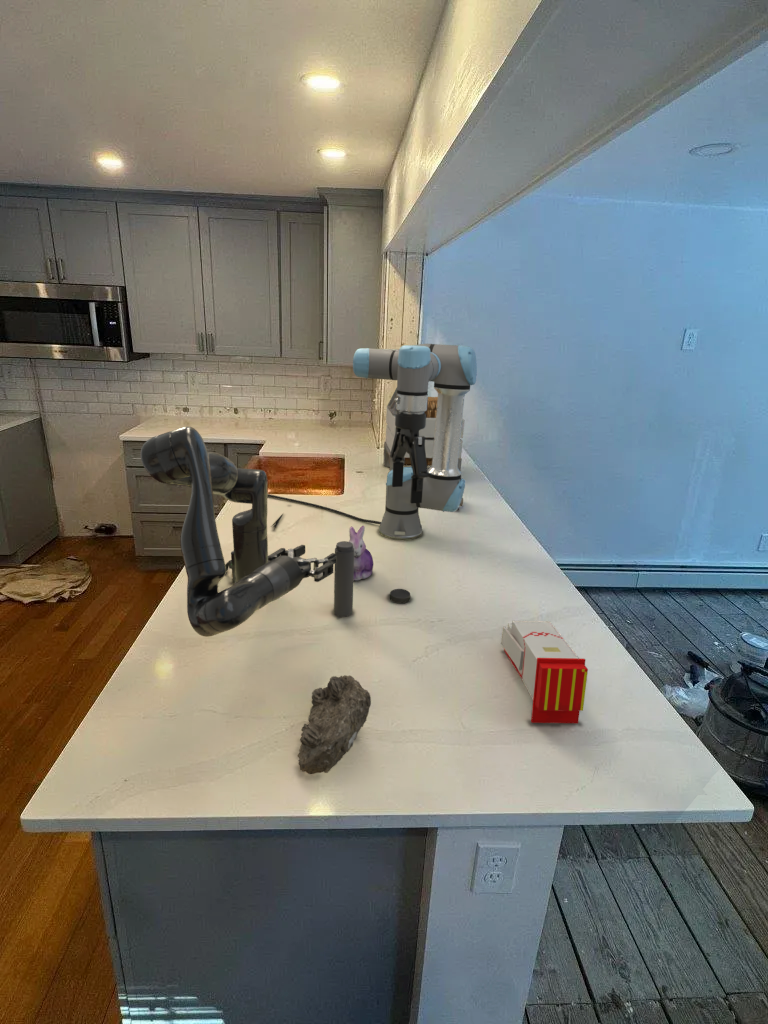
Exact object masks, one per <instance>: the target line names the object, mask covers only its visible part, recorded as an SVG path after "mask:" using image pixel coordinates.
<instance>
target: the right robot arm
mask: <svg viewBox="0 0 768 1024" xmlns="http://www.w3.org/2000/svg"><path fill="white" fill-rule="evenodd" d="M476 355H477V354H476V352H475V350H474V348H473V347H471V346H466V345H460V344H458V345H456V344H441V343H439V344H438V343H419V344H412V345H411V344H410V345H409V344H408V345H401V346H400V347H399V348H369V347H365V348H361V347H360V348H358V349H356V350H355V352H354V354H353V357H352V371H353V374H354V375H355V376H356V377H357V378H361V379H367V380H368V379H373V380H388V381H397V382H396V388H397V398H395V402H396V409H397V410H398V411H397V412H396V416H395V426H396V432H395V437H394V441H393V445H392V449H391V453H390V457H391V458H392V461H393V462H394V463H393V470H391V471H390V470H389V472H388V473H387V475H386V482H385V504H384V505H385V507H384V508H385V509H384V513H383V515H382V519H381V521H379V520H372V519H365V518H361V517H359V516H358V517H357V516H356V515H355V516H354V515H352V514H349V513H347V512H343V511H340V510H338V509H334V508H330V507H327V506H324V505H320V504H316V503H311V502H307V501H302V500H298V499H294V498H289V497H284V496H279V495H274V494H269V493H268V496H267V498H273V499H278V500H282V501H287V502H292V503H296V504H301V505H306V506H310V507H314V508H317V509H322V510H326V511H328V512H332V513H336V514H338V515H341V516H345V517H348V518H351V519H353V520H356V521H359V522H364V523H367V524H369V523H370V524H376V525H379V526H378V533H379V534H380V535H381V536H382V537H385V538H387V539H389V540H395V541H410V540H415V539H418V538H420V537H421V536H422V535H423V525H422V524H421V518H420V515H419V509H425V510H433V511H439V512H440V511H441V512H442V513H444V512H447V513H455V512H456V511H458V510H457V509H458V508H460V506H459V505H460V503H461V500H462V498H463V497H462V496H464V493H465V492H464V491H465V489H466V479H464V478H462V471H461V472H460V470H459V469H458V467H457V466H458V456H459V446H460V439H461V438H460V436H461V426H462V419H463V414H464V404H465V396H466V395H467V394H468V393H469V392H470V391H471V386H474V385H476V382H477V375H478V374H477V373H478V367H477V366H478V365H477V364H478V363H477V356H476ZM429 382H432V383H433V389H434V390H435V391H436V393H437V397H438V399H437V411H436V423H435V434H434V446H433V457H432V465H430V466H429V468H428V466H427V461H426V452H425V437H424V436H419V430H421V429H424V428H425V426H426V414H425V413H424V412H425V411H426V410H427V400H428V397H429V392H428V391H429ZM394 452H395V453H394ZM406 452H407V453H408V454H409V456H410V461H411V466H405V465H404V463H403V462H402V461H404V456H405V454H406Z"/></svg>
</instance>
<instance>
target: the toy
mask: <svg viewBox="0 0 768 1024" xmlns="http://www.w3.org/2000/svg"><path fill="white" fill-rule="evenodd" d="M500 645H501V646H502V648H503V652H504V654H505V655H506V657H507V658H508V660H509V661H510V663H511V664H512V666H513V668H514V669H515V671H516V672H517V674H518V676H519V677H520V679H521V680H522V683H523V685H524V686H525V688H526V690H527V692H528V694H529V696H530V697H531V699H532V708H531V719H530V722H531V723H532V724H579V719H580V712H583V711H584V706H585V697H586V689H587V680H588V671H589V669H588V667H587V666H586V659H585V658H580V657H579V656H578V655H577V654H576V652H575V651H574V650H573V648H572V647H571V646H570V645H569V644H568V642H567V641H566V640H565V638H564V637H563V636H562V634H561V633H560V632H559V631H558V630H557V628H556V627H555V626H554V624H553V623H552V622H551V621H549V620H548V621H545V620H540V621H539V620H511V622H508V623H507V626H502V632H501V638H500Z"/></svg>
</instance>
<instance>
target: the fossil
mask: <svg viewBox="0 0 768 1024" xmlns="http://www.w3.org/2000/svg"><path fill="white" fill-rule="evenodd" d="M371 702H372V698H371V693H370V692H369V691H368V690H367V689H365V688H364V687H362V685H361V683H360V682H359V681H358V680H356V679H355V678H354V676H352V675H346V674H345V675H340V676H337V675H333V676H331V677H330V678H329V681H328V682H327V684H326V686H324V687H318V688H314V689H313V691H312V692H311V704H312V705H311V707H310V712H309V715H308V724H307V723H303V725H302V727H301V731H302V733H301V734H300V736H301V737H300V739H299V741H300V743H301V744H300V746H299V749H298V753H297V755H296V756H297V758H298V760H297V761H298V766H299V770H300V772H306V774H307V775H315V774H321V773H324V774H328V773H329V772H330V771H331V769H333V768H334V767H335V766H336V765H337V764H338V763H339V762H340V761H341V760H342V759H343V757H344V756H345V755H346V754H347V753H348V752H349V751H350V750H351V748H352V747H353V746H354V741H355V740H356V739H357V737H358V734H359V733H360V731H361V729H362V728H363V727H364V725H365V723H366V721H367V718H368V715H369V712H370V708H371V706H372V703H371Z"/></svg>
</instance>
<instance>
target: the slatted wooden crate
mask: <svg viewBox="0 0 768 1024" xmlns="http://www.w3.org/2000/svg"><path fill="white" fill-rule="evenodd" d="M395 398H397V387H396V388H395V390H394V392H393V394H392V395H391V398H390V400H389V402H388V404H387V405H386V413H385V414H386V415H385V423H386V428H385V438H384V442H383V466H384V467H388V468H389V472H390V471H391V470H393V463H394V462H393V461H392V458H391V457H390V453H391V449H392V445H393V441H394V437H395V432H396V426H395V416H396V412H397V411H398V410H397V409H396V402H395ZM437 399H438V396H428V400H427V410H426V411H425V412H424V413H425V414H426V426H425V428H424V429H421V430H419V436H424V437H425V452H426V461H427V467H431V466H432V457H433V446H434V434H435V423H436V411H437ZM464 429H465V419H464V418H462V426H461V436H460V446H459V456H458V466H457V467H458V469H459V470H460V472H461V473H462V461H463V460H462V453H463V442H464V441H463V440H462V439H463V438H464V431H465V430H464ZM394 453H395V452H394ZM402 462H403V463H404V466H406V467H412V466H411V461H410V456H409V454H408V453H407V452H406V454H405V456H404V461H402Z"/></svg>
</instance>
